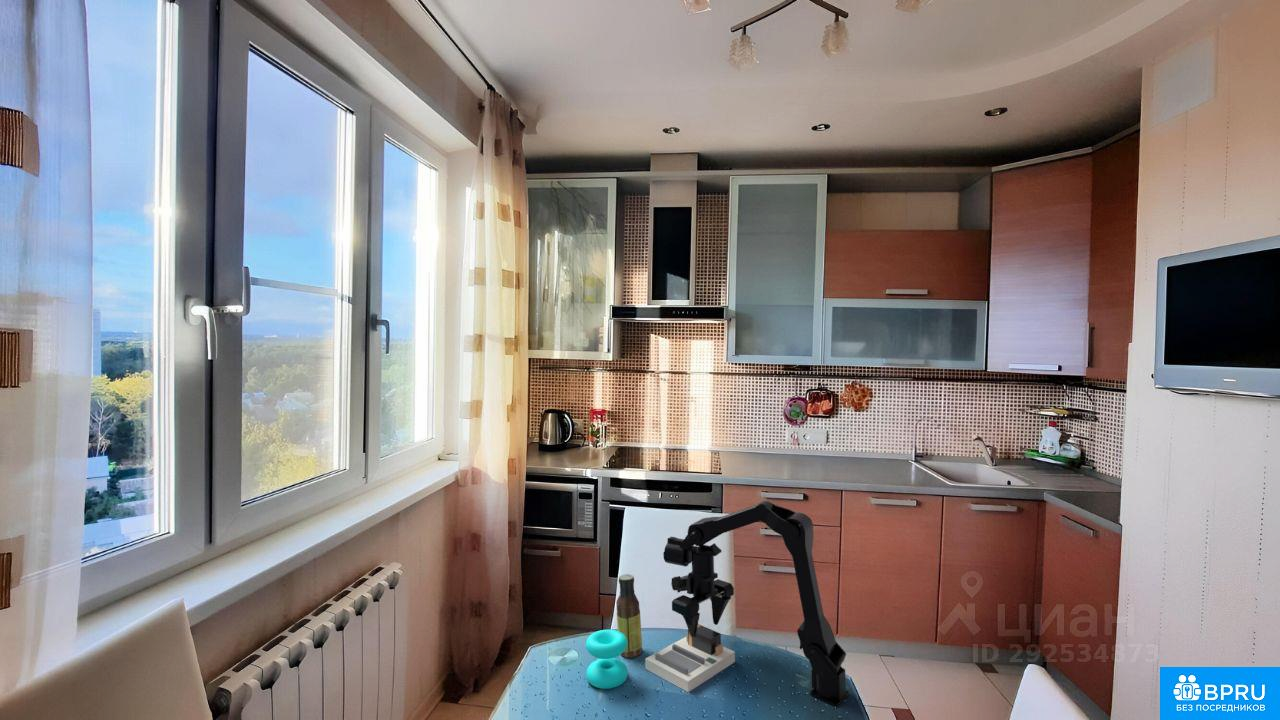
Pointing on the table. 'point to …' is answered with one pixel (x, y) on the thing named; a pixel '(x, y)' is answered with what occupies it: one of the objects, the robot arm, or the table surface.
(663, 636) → the table surface
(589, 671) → the donuts
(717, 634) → the battery
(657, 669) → the cradle
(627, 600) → the sauce bottle
